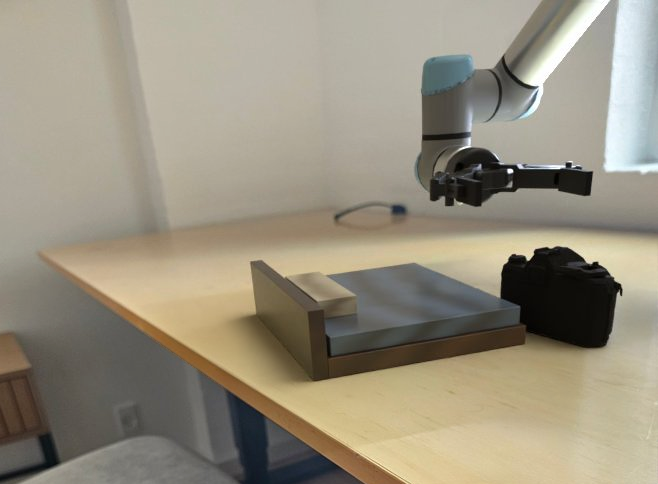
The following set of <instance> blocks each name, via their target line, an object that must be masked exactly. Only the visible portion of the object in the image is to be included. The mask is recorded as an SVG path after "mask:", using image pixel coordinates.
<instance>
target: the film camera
mask: <svg viewBox="0 0 658 484" xmlns="http://www.w3.org/2000/svg"><path fill="white" fill-rule="evenodd" d="M500 277H501V278H500V296H499V298H501V299H504V300H506V301H508V302H511V303H513V304H516V305H518V306H520V322H519V323H522V324H524V325H526V332H530V333H533V334H536V335H539V336H544V337H547V338H550V339H553V340H558V341H560V342H565V343H570V344H572V345H576V346H579V347H584V348H600V347H603V346H605V345H607V343H608V341H609V340H610V335H611V334H612V333H613V326H614V320H615V311H616V305H617V298H618V293H619V297H623V293H624V291H623V290H624V289H623V287H622V286H623V284H622V283H621V282H619V281H616V280H615V277H614V276H612V274H611V273H610V272H609V270H608V269H607V268H606V267H604V266H602V265H601V264H600V263H599V261H598V260H597V261H592V263H589V262H587V261H586V259H585V258H584V257H583V256H582V255H581V254H579V253H578V252H576V251H575V250H574V249H572V248H570V247H568V246H560V245H555V246H554V247H551V248H550V247H549V246H543V247H538V248H535V249H534V250H533V254H532V256H531V257H530V259H529V260H528V259H527V257H526V255H524V254H516V253H511V255H510V256H508V259H507V261H506V263H504V264H503V265H502V269H501V272H500Z"/></svg>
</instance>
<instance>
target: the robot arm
mask: <svg viewBox="0 0 658 484" xmlns="http://www.w3.org/2000/svg"><path fill="white" fill-rule="evenodd" d="M609 2H610V0H540V2H539V4H538V5H537V7H536V8H535V9H534V11H533V12H532V14H531V15H530V17H529V18H528V19H527V20H526V22H525V24H524V25H523V27H522V28H521V29H520V31H519V32H518V33H517V34H516V36H515V38H514V39H513V41H512V42H511V44H510V45H509V46H508V48H507V49H506V50H505V52H504V53H503V54H502V56H501V57H500V58H499V60H498V61H497V63H496V64H495V65H494V67H492V68H475V65H474V58H473V56H472V55H471V54H467V53H464V54H463V53H461V54H450V55H440V56H432V57H429V58H427V59H426V60H425V61H424V63H423V66H422V74H421V88H420V94H421V141H420V142H421V144H420V146H421V147H420V148H421V150H420V152H419V153H418V155H417V157H416V159H415V161H414V167H413V168H414V169H413V171H414V177H415V180H416V182H417V184H418V185H419V186H420V187H421V188H422V189H423V190H425V191H426V192H427V193H429V201H431V202H432V203H433V202H437V201H440V200H441V199H442V198H444V207H454V206H455V202H456V204H457V206H461V205H463V204H464V205H468V206H471V207H473V208H479V207H480V208H481V207H482V204H484V203H486V202H488V201H489V200H491V199H492V198H493V197H494V196H495V195H497V194H501V193H516V192H520V191H521V189H526V190H527V189H529V190H530V189H531V190H532V189H533V190H535V189H536V190H540V189H541V190H557V192H560V193H566V194H571V195H576V196H582V197H591V196H592V195H591V194H592V185H593V179H594V178H593V176H594V171H593V170H588V169H583V166H582V165H580V164H579V165H578V164H577V165H573V161H571V160H569V161H565V164H564V165H539V164H538V165H535V164H528V163H523V164H521V163H504V162H503V161H500V159H499V158H498V156H497V155H496V153H494V151H491V150H490V149H487V148H484V147H476V146H471V140H472V139H471V137H472V126H473V125H476V124H486V123H499V122H501V123H502V122H513V121H516V120H519V119H524V118H526V117H529V116H530V115H532V114H533V113H534V112H535V111H536V110H537V108H538V107H539V105H540V102H541V98H542V96H543V94H544V84H543V83H544V82H545V81H546V79H547V78H548V77H549V75H551V73H552V72H553V71H554V70H555V68H556V67H557V66H558V65H559V64H560V62H561V61H562V60H563V58H564V57H565V56H566V55H567V53H568V52H569V51H570V50H571V48H572V47H574V45H575V44H576V42H577V41H578V40H579V38H580V37H582V35H583V34H584V32H585V31H586V30H587V28H588V27H589V26H590V25H591V24H592V22H593V21H594V20H595V19H596V17H598V15H599V14H600V13H601V11H602V10H603V9H604V8H605V6H606V5H607V4H608V3H609ZM510 185H511V186H510Z"/></svg>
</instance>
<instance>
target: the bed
mask: <svg viewBox="0 0 658 484" xmlns="http://www.w3.org/2000/svg"><path fill="white" fill-rule="evenodd" d="M249 264H250V274H251V280H252V289H253V298H254V306H255V314H256V315H257V317H258V318H259V319H260V320H261V321H262V322H263V323H264V325H265V326H266V327H267V328H268V329H269V331H270V332H271V333H272V334H273V335H274V336H275V337H276V339H277V340H278V341H279V343H280V344H282V346H283V347H284V348H285V349H286V351H287V352H288V353H289V354H290V355H291V356H292V358H293V359H294V360H295V361H296V362H297V363H298V364H299V366H300V367H301V368H302V369H303V371H305V373H306V374H307V375H308V376H309V377H310V378H311V380H312V381H313V382H317V381H322V380H328V379H333V378H339V377H345V376H351V375H356V374H361V373H367V372H372V371H378V370H384V369H390V368H394V367H399V366H405V365H411V364H416V363H417V364H418V363H422V362H429V361H434V360H439V359H446V358H451V357H456V356H462V355H467V354H474V353H479V352H484V351H485V352H486V351H490V350H496V349H501V348H507V347H513V346H517V345H518V346H519V345H524V344H526V334H527V333H526V332H527V331H526V325H524V324H522V323H519V322H520V306H518V305H516V304H513V303H511V302H508V301H506V300H504V299H501V298H500V296H497V295H494V294H492V293H489V292H486V291H483V290H482V289H479V288H477V287H474V286H472V285H469V284H468V283H465V282H462V281H461V280H458V279H456V278H452V277H450V276H448V275H446V274H443V273H440V272H438V271H436V270H434V269H431V268H428V267H426V266H424V265H421V264H419V263H416V262H410V263H403V264H394V265H389V266H388V265H387V266H382V267H375V268H367V269H360V270H352V271H346V272H345V271H344V272H338V273H337V272H336V273H330V274H324V273H322V272H321V271H313V272H312V271H311V272H305V273H297V274H292V275H285V276H283V275H282V274H280V273H279V272H278V271H276V270H275V269H274V268H272V267H271V266H270V265H269V264H268V263H266V262H265V261H264V260H262V259H259V260H251V261H249Z"/></svg>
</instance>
